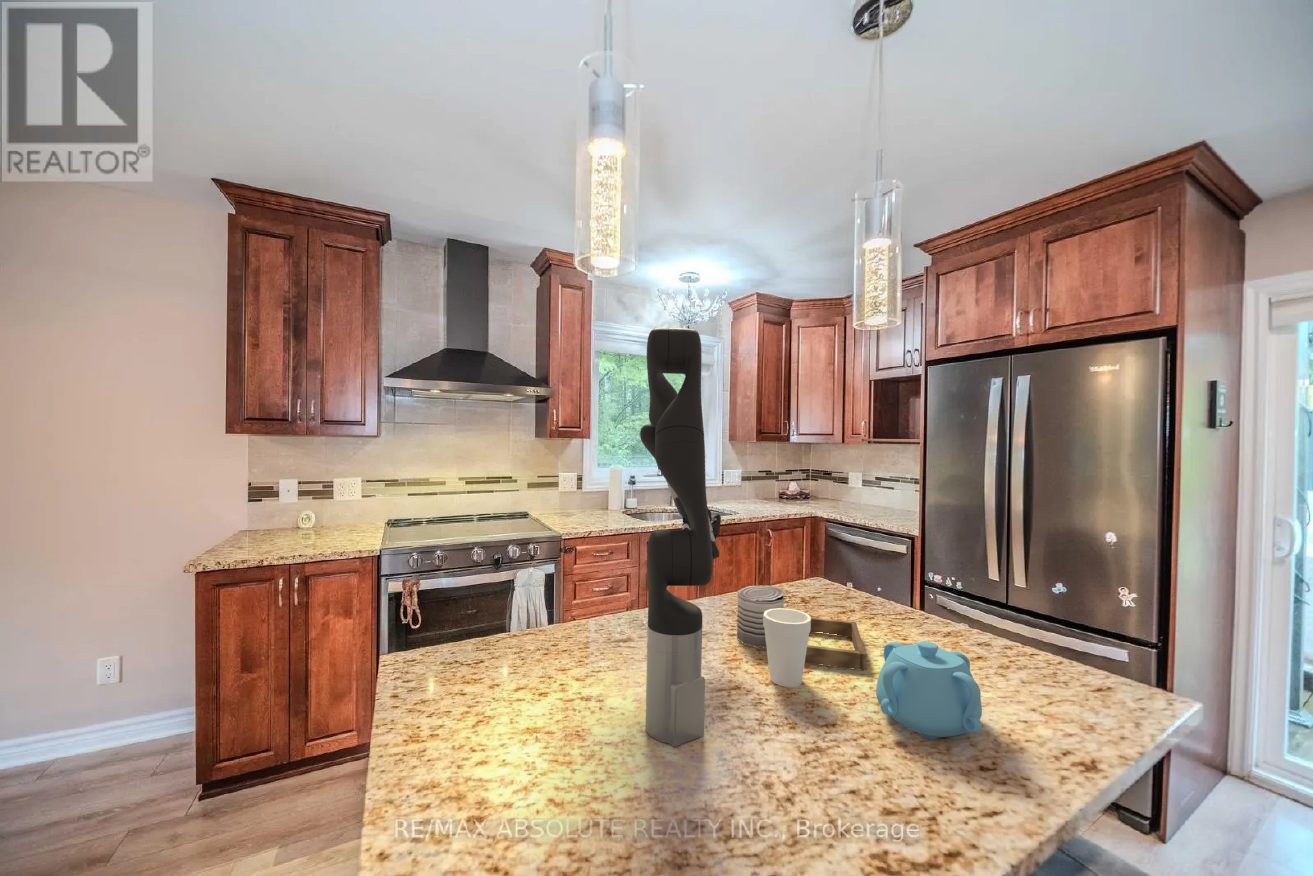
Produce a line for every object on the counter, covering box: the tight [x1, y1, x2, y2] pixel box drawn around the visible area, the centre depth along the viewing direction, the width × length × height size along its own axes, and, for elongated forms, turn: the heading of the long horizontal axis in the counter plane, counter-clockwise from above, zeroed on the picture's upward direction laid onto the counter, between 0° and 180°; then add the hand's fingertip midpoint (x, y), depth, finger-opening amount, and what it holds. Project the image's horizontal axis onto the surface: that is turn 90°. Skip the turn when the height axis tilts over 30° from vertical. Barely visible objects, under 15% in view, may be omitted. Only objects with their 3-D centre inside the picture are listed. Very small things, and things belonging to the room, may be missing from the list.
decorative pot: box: [875, 640, 983, 740], centre depth 89 cm, size 16×16×14 cm
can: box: [736, 585, 786, 649], centre depth 125 cm, size 11×11×12 cm
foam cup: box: [763, 607, 811, 688], centre depth 104 cm, size 10×9×13 cm
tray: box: [805, 616, 867, 671], centre depth 121 cm, size 20×20×4 cm
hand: (715, 558), depth 123 cm, fingers closed
